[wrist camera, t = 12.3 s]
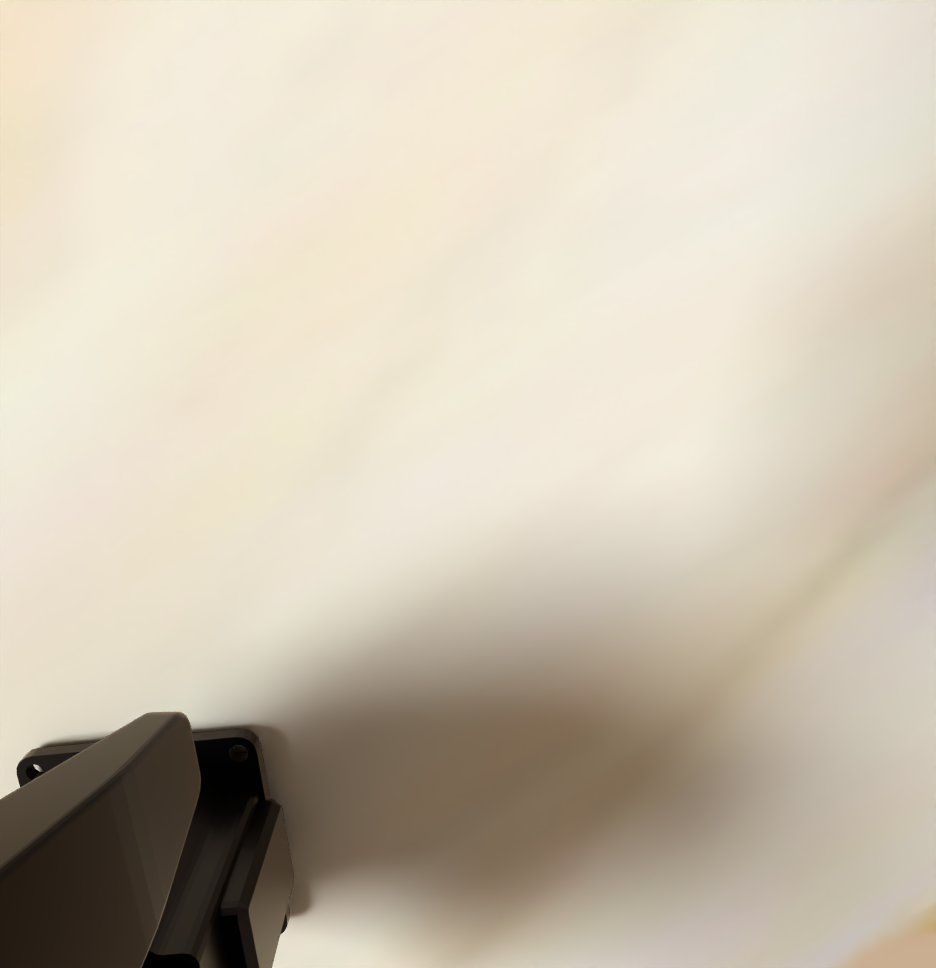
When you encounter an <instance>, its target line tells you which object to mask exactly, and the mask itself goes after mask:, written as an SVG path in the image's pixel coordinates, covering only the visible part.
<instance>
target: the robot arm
mask: <svg viewBox="0 0 936 968" xmlns="http://www.w3.org/2000/svg"><path fill="white" fill-rule="evenodd" d="M235 745H241V746H243V747H245V748H246V749H247V751H248V752H246V753H238V752H237V751H235V750H234V748H233V746H235ZM33 764H35V765H39V766H41V767H42V768H43V769H44V771H45V772H39V771H38V770H36V769H35V767H34V766H33ZM17 777H18V780H19V784H20V788H19V789H17V790H15V791H14V792H12V793H10V794H8V795H7V796H5V797H3V798H2V799H0V968H272V965H273V961H274V957H275V953H276V949H277V945H278V941H279V937H280V934H281V933H283V932H284V931H285V929H286V927H287V924H288V920H289V916H290V908H289V903H288V902H289V898H290V894H291V890H292V886H293V882H294V873H293V868H292V862H291V856H290V850H289V845H288V839H287V833H286V827H285V822H284V816H283V810H282V806H281V805H280V804H279V803H278V802H277V801H276V800H275V799H270V796H269V790H268V784H267V779H266V773H265V768H264V762H263V756H262V751H261V745H260V742H259V739H258V737H257V736H256V735H255V734H254V733H253V732H251V731H248V730H246V729H233V730H223V731H212V732H201V733H192V730H191V725H190V722H189V720H188V718H187V716H186V715H184V714H183V713H182V712H151V713H146V714H144V715H143V716H141V717H139V718H137V719H136V720H134V721H132V722H131V723H129V724H127V725H126V726H124V727H122V728H120V729H119V730H117V731H115V732H114V733H112V734H110V735H109V736H107V737H105V738H104V739H102V740H100V741H98V742H96V743H86V744H75V745H65V746H54V747H44V748H37V749H33V750H31V751H30V752H29V753H27V754H26V755H25V756H24V758H23V759H22V760H21V761H20V762H19V764H18V766H17Z"/></svg>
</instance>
